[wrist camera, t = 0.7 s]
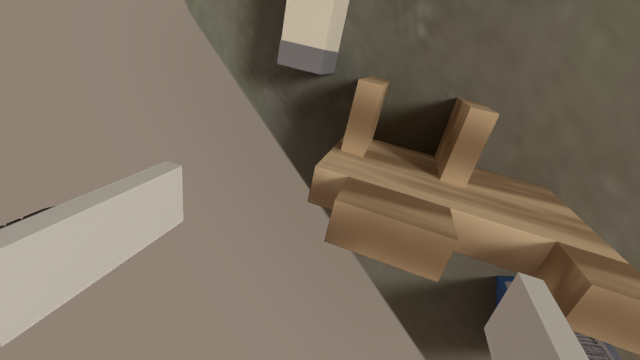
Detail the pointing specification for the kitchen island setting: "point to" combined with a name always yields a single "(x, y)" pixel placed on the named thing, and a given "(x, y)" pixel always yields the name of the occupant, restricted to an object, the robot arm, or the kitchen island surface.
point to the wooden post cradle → (469, 217)
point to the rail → (312, 34)
